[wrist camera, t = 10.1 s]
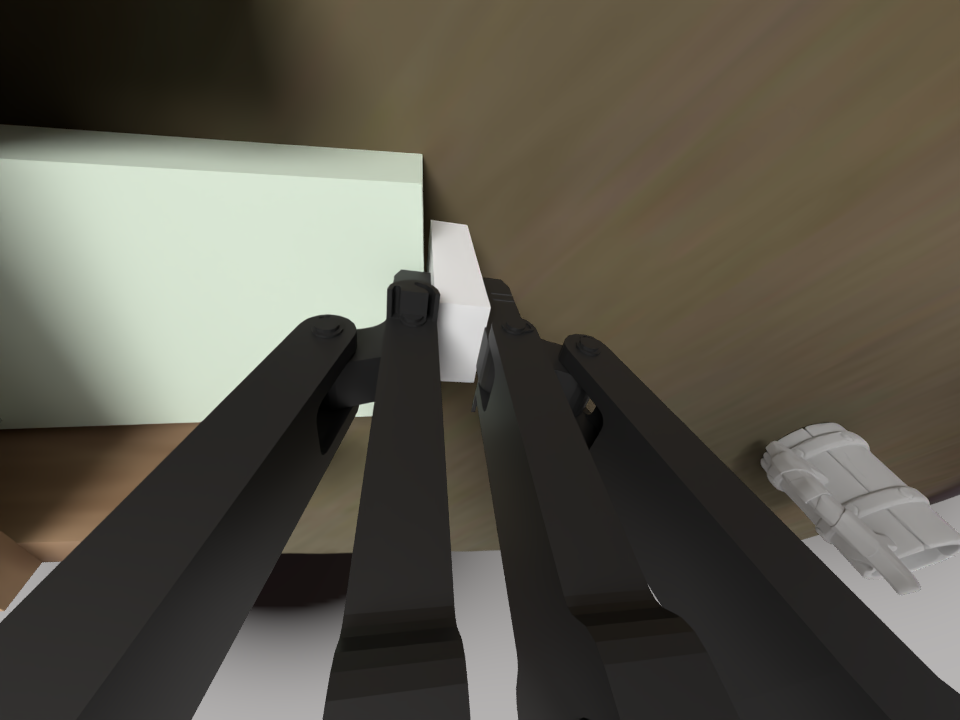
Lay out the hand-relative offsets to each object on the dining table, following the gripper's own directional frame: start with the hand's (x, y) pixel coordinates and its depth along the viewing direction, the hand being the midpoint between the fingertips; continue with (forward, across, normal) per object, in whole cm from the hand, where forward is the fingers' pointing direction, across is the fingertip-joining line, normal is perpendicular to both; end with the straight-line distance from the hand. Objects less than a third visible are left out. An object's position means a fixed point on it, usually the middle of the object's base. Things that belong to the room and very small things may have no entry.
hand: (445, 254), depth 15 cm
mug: (+2, +32, -14) cm, 35 cm away
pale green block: (+2, -11, -3) cm, 11 cm away
